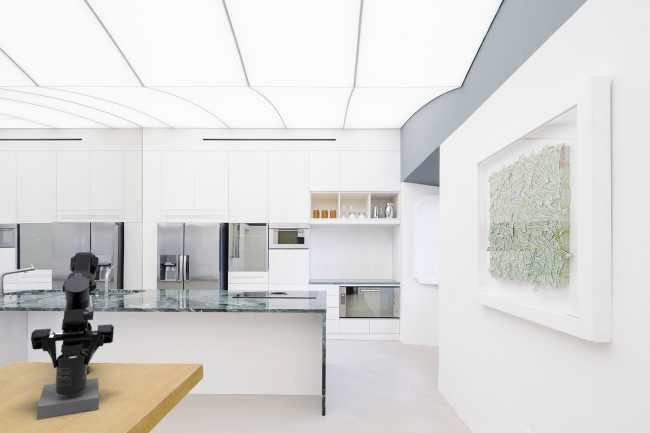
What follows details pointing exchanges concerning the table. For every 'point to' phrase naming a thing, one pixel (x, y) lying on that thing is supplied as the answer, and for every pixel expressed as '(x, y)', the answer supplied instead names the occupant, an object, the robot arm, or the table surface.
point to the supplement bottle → (71, 369)
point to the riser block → (68, 400)
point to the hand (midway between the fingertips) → (71, 365)
